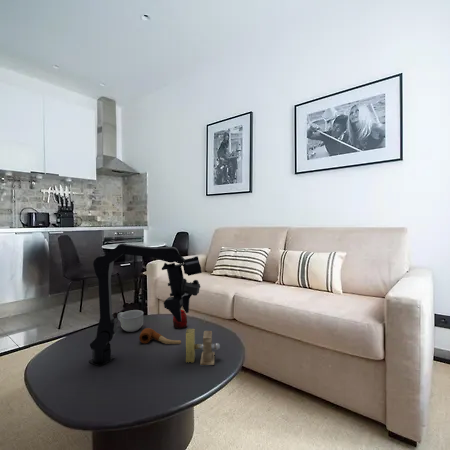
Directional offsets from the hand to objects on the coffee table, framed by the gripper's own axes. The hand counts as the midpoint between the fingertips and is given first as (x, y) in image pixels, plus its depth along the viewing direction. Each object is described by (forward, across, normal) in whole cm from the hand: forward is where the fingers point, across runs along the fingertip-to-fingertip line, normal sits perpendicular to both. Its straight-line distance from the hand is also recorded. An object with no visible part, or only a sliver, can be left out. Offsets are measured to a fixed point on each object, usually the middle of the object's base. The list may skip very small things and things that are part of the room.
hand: (183, 317), depth 109 cm
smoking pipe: (+13, +10, +17) cm, 23 cm away
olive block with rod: (+16, -4, -6) cm, 17 cm away
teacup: (+10, +21, +37) cm, 44 cm away
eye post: (+16, -3, -7) cm, 18 cm away
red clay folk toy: (+14, +27, +14) cm, 34 cm away
